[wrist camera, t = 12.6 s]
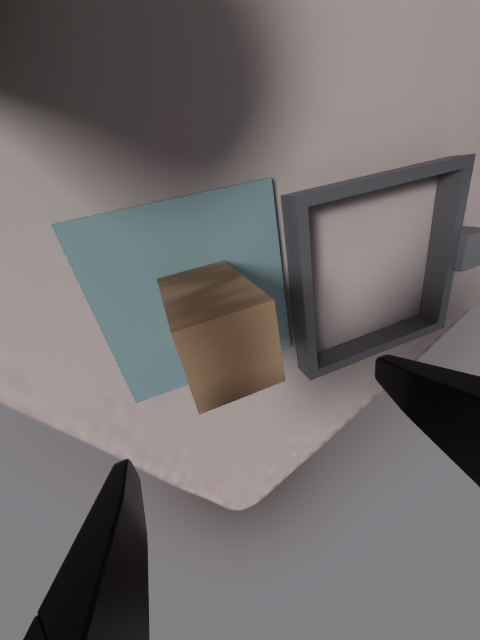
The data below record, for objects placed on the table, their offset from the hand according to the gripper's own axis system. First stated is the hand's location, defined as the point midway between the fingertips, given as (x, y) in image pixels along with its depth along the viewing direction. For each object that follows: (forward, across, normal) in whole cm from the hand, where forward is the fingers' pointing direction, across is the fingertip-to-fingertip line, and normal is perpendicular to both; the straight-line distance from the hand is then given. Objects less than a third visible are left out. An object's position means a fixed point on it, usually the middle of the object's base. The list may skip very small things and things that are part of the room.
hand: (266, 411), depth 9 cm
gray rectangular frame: (+12, -16, +2) cm, 20 cm away
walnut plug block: (+12, 0, 0) cm, 12 cm away
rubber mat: (+12, 0, 0) cm, 12 cm away
